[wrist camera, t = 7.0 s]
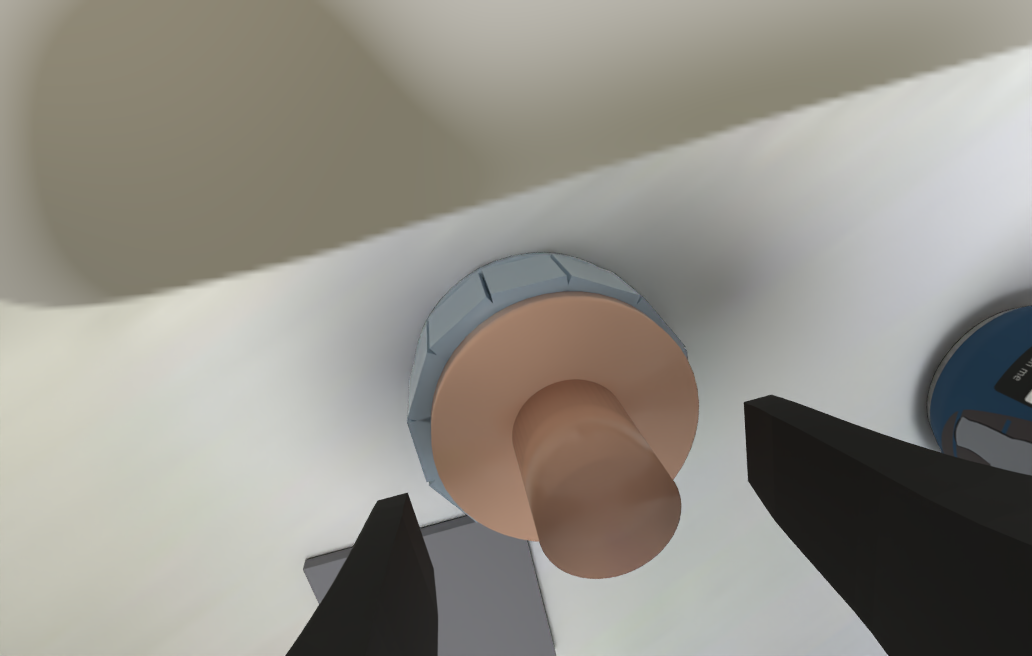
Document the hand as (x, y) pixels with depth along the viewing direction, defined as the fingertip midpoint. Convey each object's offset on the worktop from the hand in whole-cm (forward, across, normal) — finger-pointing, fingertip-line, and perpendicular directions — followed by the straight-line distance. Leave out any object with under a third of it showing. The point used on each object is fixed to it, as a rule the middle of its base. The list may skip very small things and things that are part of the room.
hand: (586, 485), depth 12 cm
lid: (+3, 0, 0) cm, 3 cm away
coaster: (+6, +5, +8) cm, 11 cm away
